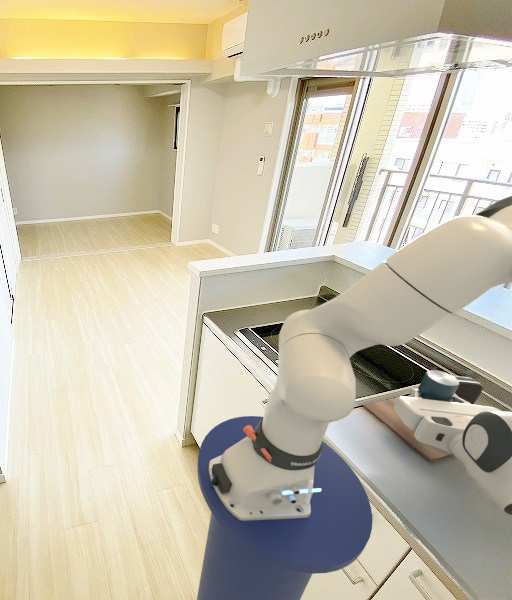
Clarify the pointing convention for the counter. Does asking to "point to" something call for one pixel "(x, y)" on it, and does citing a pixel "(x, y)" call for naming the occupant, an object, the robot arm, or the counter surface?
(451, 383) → the can
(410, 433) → the wooden board
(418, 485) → the counter surface
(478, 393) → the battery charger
